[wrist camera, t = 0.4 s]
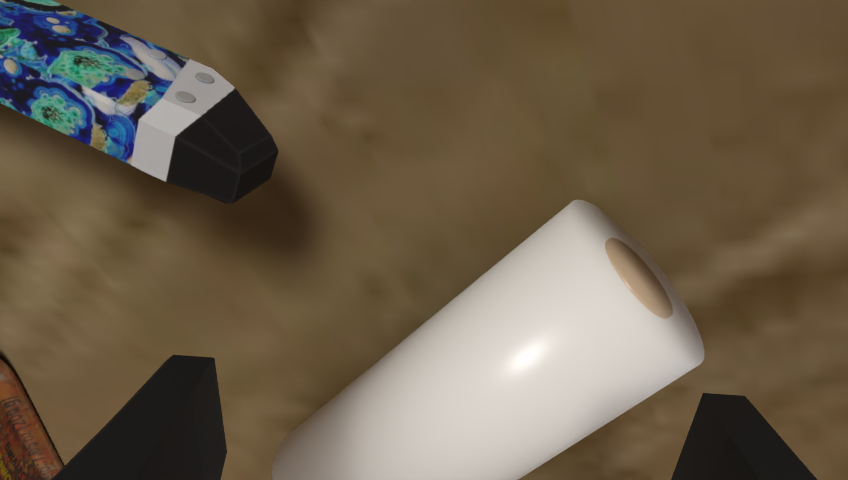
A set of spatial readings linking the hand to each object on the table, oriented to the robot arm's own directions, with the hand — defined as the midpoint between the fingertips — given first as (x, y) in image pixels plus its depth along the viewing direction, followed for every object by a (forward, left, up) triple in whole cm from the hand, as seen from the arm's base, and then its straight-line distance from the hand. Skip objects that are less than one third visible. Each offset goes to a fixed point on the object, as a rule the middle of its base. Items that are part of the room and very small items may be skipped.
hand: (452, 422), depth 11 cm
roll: (-5, +5, -7) cm, 10 cm away
